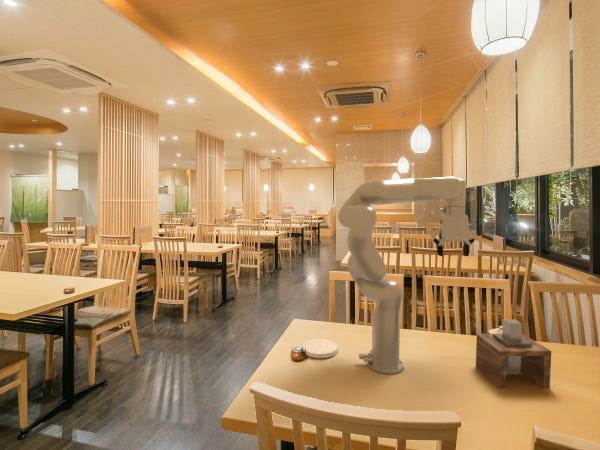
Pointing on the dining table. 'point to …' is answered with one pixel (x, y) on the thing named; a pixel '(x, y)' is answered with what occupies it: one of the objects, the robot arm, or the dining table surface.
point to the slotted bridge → (495, 353)
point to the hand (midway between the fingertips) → (452, 255)
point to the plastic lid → (320, 348)
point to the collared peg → (512, 343)
